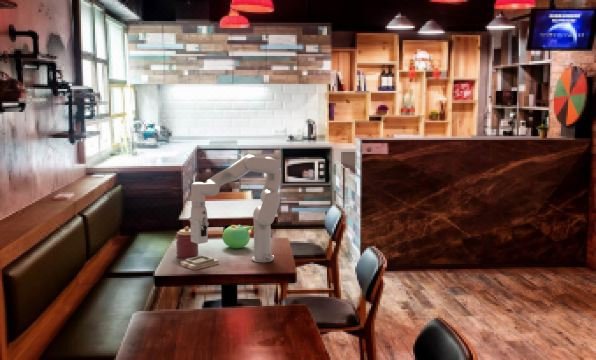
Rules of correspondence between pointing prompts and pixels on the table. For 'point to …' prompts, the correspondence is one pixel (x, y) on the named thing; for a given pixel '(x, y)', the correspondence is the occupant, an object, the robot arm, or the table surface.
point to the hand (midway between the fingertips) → (198, 234)
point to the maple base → (199, 262)
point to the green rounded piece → (236, 236)
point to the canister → (185, 244)
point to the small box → (197, 232)
